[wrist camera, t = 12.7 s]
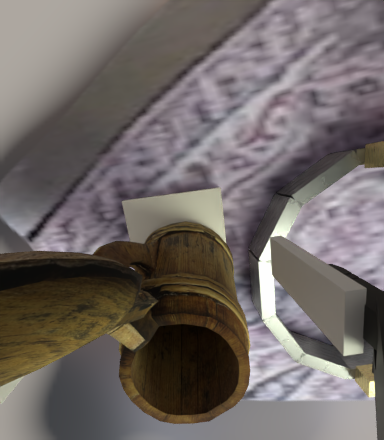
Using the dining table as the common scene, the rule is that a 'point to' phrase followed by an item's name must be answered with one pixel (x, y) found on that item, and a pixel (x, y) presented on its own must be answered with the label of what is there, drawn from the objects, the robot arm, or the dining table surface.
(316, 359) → the collar
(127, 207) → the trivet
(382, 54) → the dining table surface
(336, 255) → the dining table surface
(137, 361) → the wooden mug
